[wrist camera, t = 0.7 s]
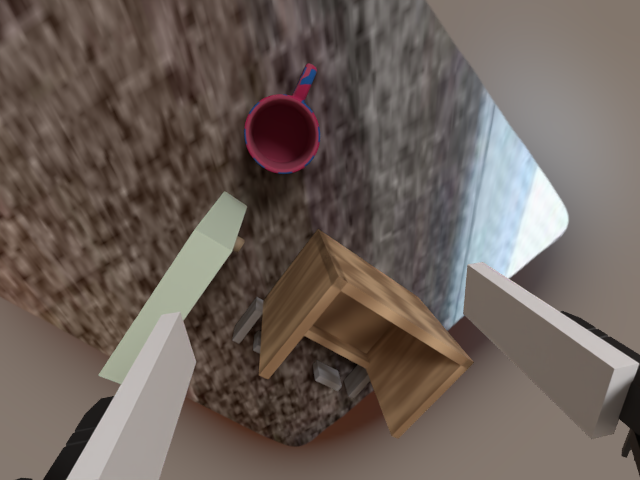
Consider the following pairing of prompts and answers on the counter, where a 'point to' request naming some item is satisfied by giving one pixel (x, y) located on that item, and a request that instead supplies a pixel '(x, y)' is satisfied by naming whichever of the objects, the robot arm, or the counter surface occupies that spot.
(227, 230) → the door
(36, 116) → the counter surface
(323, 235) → the carcass
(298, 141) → the mug
